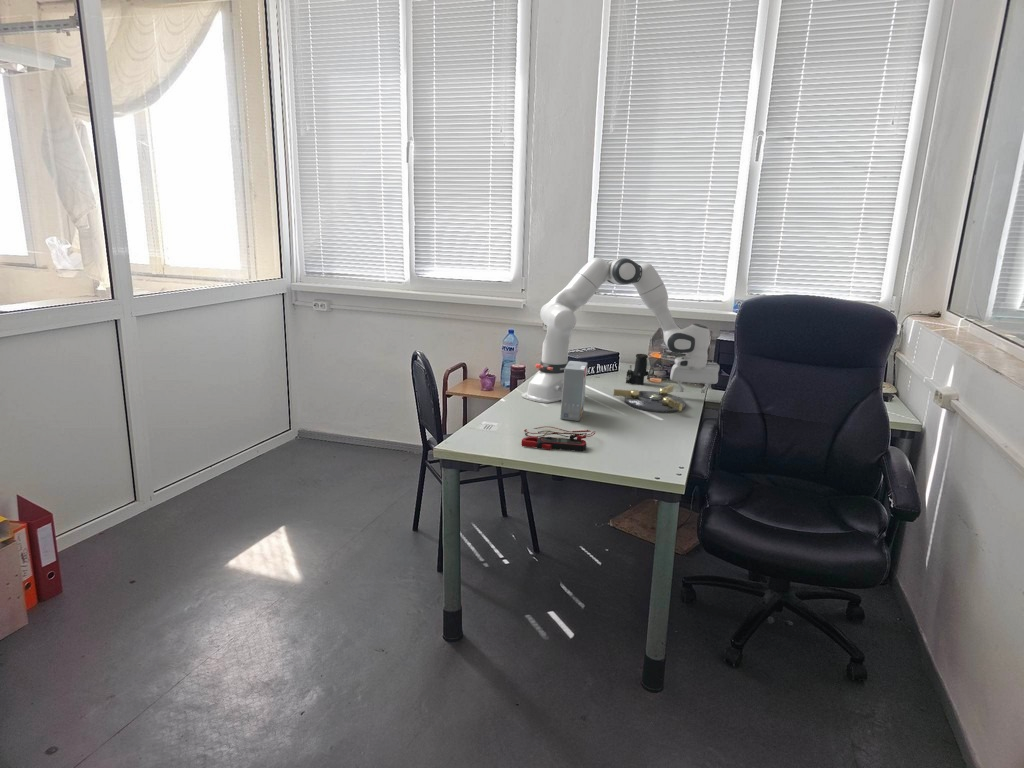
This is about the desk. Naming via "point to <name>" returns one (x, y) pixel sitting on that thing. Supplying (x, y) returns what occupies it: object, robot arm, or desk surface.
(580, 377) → the hard drive box
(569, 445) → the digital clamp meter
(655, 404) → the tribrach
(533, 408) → the desk surface
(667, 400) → the knob
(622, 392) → the knob
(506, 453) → the desk surface
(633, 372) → the scope
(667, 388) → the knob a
